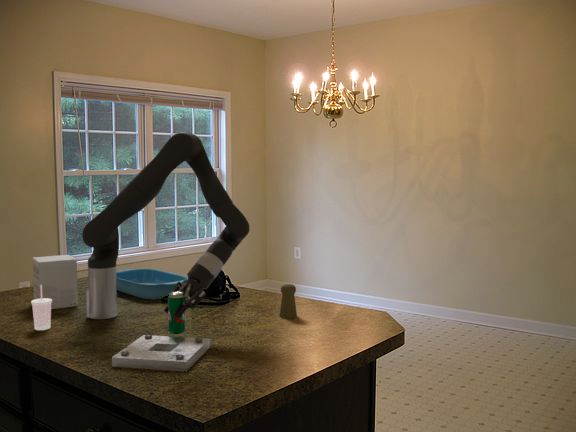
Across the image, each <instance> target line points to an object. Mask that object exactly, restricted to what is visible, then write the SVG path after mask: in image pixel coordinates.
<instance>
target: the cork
mask: <svg viewBox="0 0 576 432" xmlns="http://www.w3.org/2000/svg"><path fill="white" fill-rule="evenodd" d="M296 290H297V288H296V286H295V285H294V284H291V283H284V284H282V285H281V287H280V292H281V294H282V295H281V302H280V309H279V318H281V319H295V318H297V317H298V312H297V306H296V305H297V304H296V297H295V294H296V292H297V291H296Z"/></svg>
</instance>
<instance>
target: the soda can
mask: <svg viewBox="0 0 576 432" xmlns="http://www.w3.org/2000/svg"><path fill="white" fill-rule="evenodd" d="M183 300H184V292H181V291H174V292H170V293H169V296H168V298H167V305H168V314H167V323H168V324H167V327H168V329H167V330H168V332H169V334H171V335H181V334H183V333H185V332H186V311H185V312H184V313H183V315H182V316H181V317H180V318H179V319H178V318H176V317H175V316H174V312H175V311H176V310H177V308H178V307H179V306H180V305H182V302H183Z"/></svg>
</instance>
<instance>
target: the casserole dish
mask: <svg viewBox="0 0 576 432" xmlns="http://www.w3.org/2000/svg"><path fill="white" fill-rule="evenodd" d="M116 274H117V292H118V291H119V292H120V293H124V294H126V295H131V296H133V297H137V298H141V299H144V300H149V299H150V301H153V300H154V301H155V300H162V299H164V298H163V297H165V296H168V295H169V293H170V292H172V291H173V289H174V288H175V286H176V284H177V283H178V282H181V283H184V282H185V281H187V280H188V276H186V275H182V274H179V273H174V272H170V271H167V270H162V269H161V270H160V269H157V268H156V269H155V268H133V269H132V268H130V269H129V268H128V269H121V270H116ZM161 298H162V299H161Z"/></svg>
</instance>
